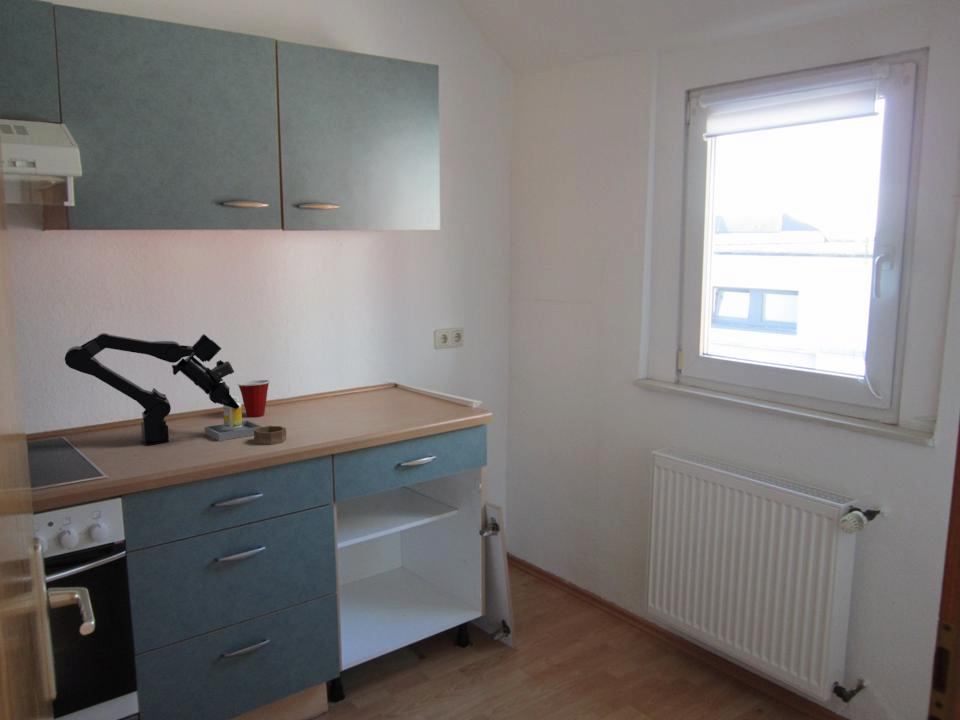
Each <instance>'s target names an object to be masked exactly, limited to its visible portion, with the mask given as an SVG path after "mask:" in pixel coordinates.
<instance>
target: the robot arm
mask: <svg viewBox="0 0 960 720" xmlns="http://www.w3.org/2000/svg"><path fill="white" fill-rule="evenodd" d="M105 349H111V350H117V351H122V352H128V353H136V354H142V355H147V356H151V357H154V358H156V359H159V360H161V361H164V362H167V363H170V364H171V363H172V365H171V368H172V374H173V375H174V376H177V374H178V373H179V372H180V373H181V374H182V375H184V376H185V377H187V378H188V379H189V381H192V382H193V384H194V385H196V386H197V387H199V388H200V389H201V391H203V392H204V394H206V395H208V398H209V400H210V401H211V402H213V403H214V404H219V405H222V406H224V405H225V406H229V407H232V408H235V409H238V408H239V405H238V404H237V403H236V402H235V400H234V399H233V398H232V397H231V396H232V395H231V393H230V387H229V386H228V385H227V383H226V382H225V381H224V379H223V378H224V377H226V376H228V375H232V374H233V373H234V372H235V370H234V368H233V367H232V365H231V362H229V361H225V362H224V361H223V360H221V359H220V360H218V361H216V363H215V365H216V366H214V367H213V368H211V369H210V368H209V367H206V366H205V365H203V364H202V363H205V362H210V361H211V360H213V358H214V357H215V356H216V355H218V353H219V352H220V351H221V350H222V349H223V348H221V347H220V346H219V345H218V344H217V343H216V342H215V341H214V340H213V339H211V338H209V337H208V336H207V335H206V334H205V333H203V334H202V335H200V337H199V339H198V340H196V341H195V343H194V344H193V345H192V346H191V345H183V344H181V345H180V343H178V342H176V341H174V340H170V341H169V340H158V341H150V340H143V339H138V338H130V337H124V336H119V335H112V334H109V333H106V332H103V333H99V334H98V335H97V336H96V337H93V338H92V339H91V340H88V341H87V342H85V343H83V344H82V345H80V346H79V345H76V346H75V345H74V346H72V347H70V348H69V349H68V350H67V351H66V354H65V356H64V362H65V365H66V366H67V367H68V368H69V369H72V370H74V371H78V372H80V373H83V374H86V375H89V376H93V377H94V378H96V379H98V380H100V381H101V382H103V383H105V384H107V385H108V386H110V387H112V388H113V389H116V390H117V391H119V392H120V393H122V394H123V395H126V396H127V397H128V398H130V399H133V400H134V401H136V402H137V403H138V404H139V405H140V406H141V407H142V408H143V409H144V411H143V412H142V413H141V416H142V420H143V421H141V422H140V427H141V439H140V440H139V441H140V442H141V443H142V444H144V445H145V446H151V445H157V444H164V443H169V442H170V440H169V425H167V421H166V420H165V418H166V417H168V415H170V413H171V409H172V407H171V403H170V401H169V399H168V398H167V395H166V394H165V393H162V392H160V391H158V389H156V388H155V387H152V389H151V391H150V390H147V389H144V388H143V387H140V386H139V385H138V384H136V383H135V382H132V381H130V380H129V379H128V378H126V377H124V376H122V375H121V374H119V373H117V372H115V371H114V370H112V369H111V368H109V367H107V366H105V365H104V364H102V362H100V361H99V359H97V358H96V357H95V356H96V355H97V354H99V353H100V352H102V351H104V350H105ZM198 359H199V360H200V361H199V360H198ZM201 362H202V363H201ZM173 363H174V364H173ZM175 363H176V364H175Z"/></svg>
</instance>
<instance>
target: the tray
mask: <svg viewBox="0 0 960 720" xmlns="http://www.w3.org/2000/svg"><path fill="white" fill-rule="evenodd" d="M260 427H264V426H262V425H260V424H258V423H255V422H253V421H250V420H248V419H246V420H242V427H240V428H236V429H226V428H224V423H220V424H214V425H209V426H204V434H205V435H206V436H208V437H210V438H212V439H214V440H216V441H218V442H222V441H221V440H223V441H228V440H227V439H229V440H234V439H233V438H235V439H239V438H238V437H241V438H245V436H247V437H251V435H252V436H254V430H256V429H257V428H260Z"/></svg>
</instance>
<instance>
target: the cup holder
mask: <svg viewBox="0 0 960 720" xmlns="http://www.w3.org/2000/svg"><path fill="white" fill-rule="evenodd" d="M253 439H254V443H255V442H256V444H257V445H265V444H270V445H271V446H272V445H277V443H278V444H283V443H284V442H286V440H287V428H286V427H283V426H281V425H267V426H263V427H260V428H257V429H256V430H254V435H253ZM265 446H266V445H265Z"/></svg>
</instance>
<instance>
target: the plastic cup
mask: <svg viewBox="0 0 960 720" xmlns="http://www.w3.org/2000/svg"><path fill="white" fill-rule="evenodd" d="M269 384H270V380H269V379H257V380H255V379H254V380H246V381H242V382H238V383H237V385H236V386H238V388H239V391H240V393H241V398H242V402H243V405H244V409H245V414H246V416H247V417H248V416H249V418H258V417H259V416H260V417H262V416H264V415H265V412H266V407H267V406H266V405H267V398H268V390H269Z"/></svg>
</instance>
